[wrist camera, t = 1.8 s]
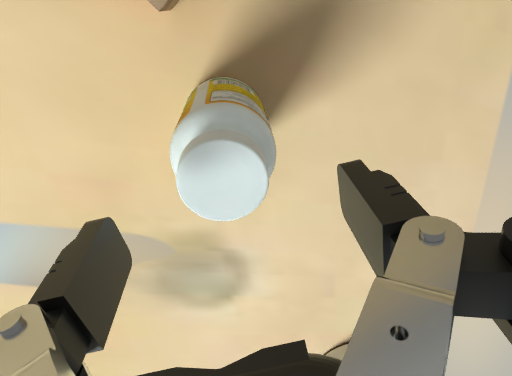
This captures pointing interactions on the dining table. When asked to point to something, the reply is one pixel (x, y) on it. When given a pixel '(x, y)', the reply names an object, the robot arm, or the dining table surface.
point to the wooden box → (163, 4)
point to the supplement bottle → (223, 150)
